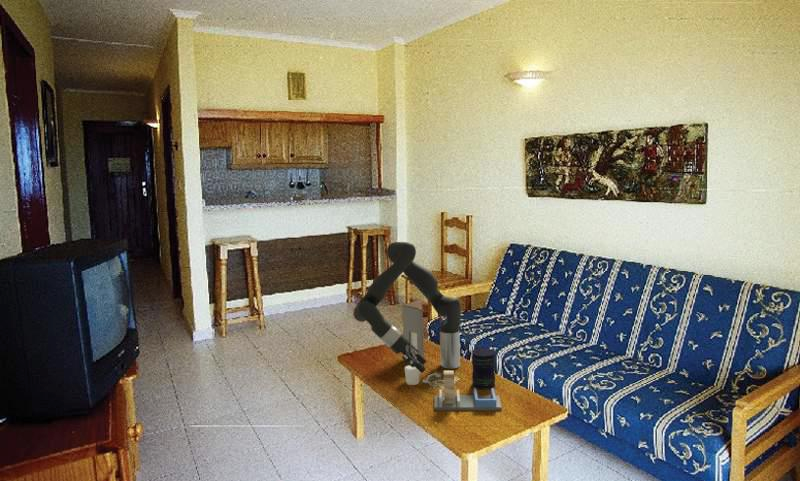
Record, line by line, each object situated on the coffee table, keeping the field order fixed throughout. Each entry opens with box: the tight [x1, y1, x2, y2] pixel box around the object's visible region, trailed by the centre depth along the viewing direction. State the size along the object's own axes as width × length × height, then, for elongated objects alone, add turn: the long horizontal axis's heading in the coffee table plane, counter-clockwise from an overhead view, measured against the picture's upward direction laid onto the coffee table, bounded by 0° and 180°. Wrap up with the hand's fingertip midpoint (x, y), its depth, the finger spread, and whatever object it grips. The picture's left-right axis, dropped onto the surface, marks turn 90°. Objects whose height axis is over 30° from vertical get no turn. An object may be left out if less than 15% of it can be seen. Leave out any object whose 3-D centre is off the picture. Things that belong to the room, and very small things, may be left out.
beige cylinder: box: [404, 364, 421, 386], centre depth 236 cm, size 7×7×7 cm
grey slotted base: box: [433, 387, 503, 411], centre depth 212 cm, size 11×26×4 cm, turn 85°
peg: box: [443, 370, 456, 403], centre depth 212 cm, size 4×4×12 cm
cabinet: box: [401, 298, 425, 367], centre depth 263 cm, size 21×10×28 cm, turn 179°
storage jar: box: [471, 342, 496, 390], centre depth 229 cm, size 10×10×18 cm
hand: (424, 366), depth 212 cm, fingers open, 8 cm apart
